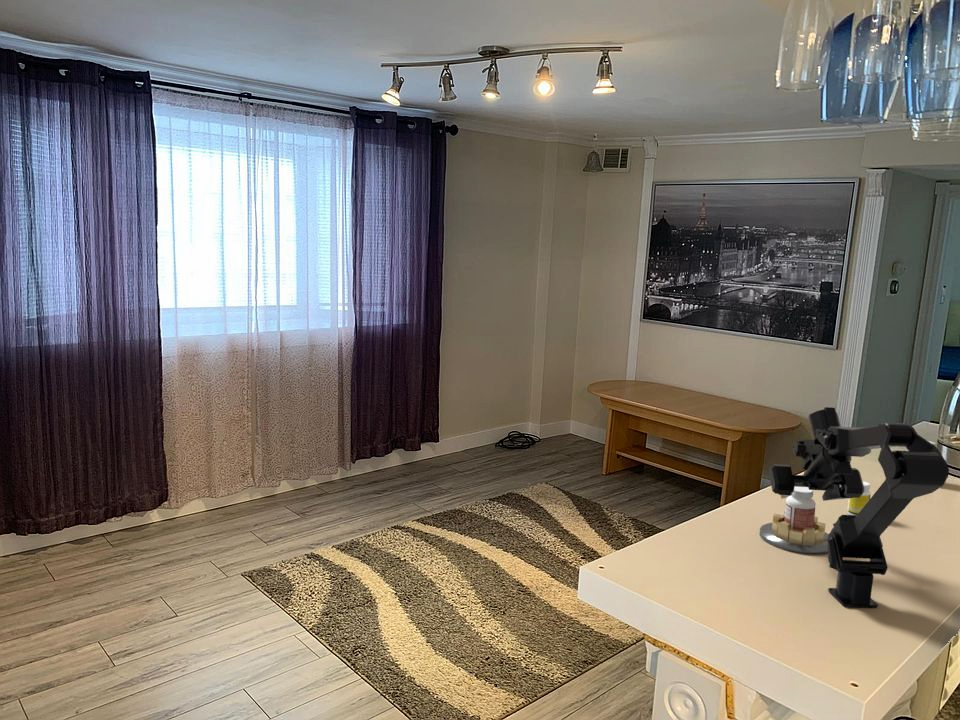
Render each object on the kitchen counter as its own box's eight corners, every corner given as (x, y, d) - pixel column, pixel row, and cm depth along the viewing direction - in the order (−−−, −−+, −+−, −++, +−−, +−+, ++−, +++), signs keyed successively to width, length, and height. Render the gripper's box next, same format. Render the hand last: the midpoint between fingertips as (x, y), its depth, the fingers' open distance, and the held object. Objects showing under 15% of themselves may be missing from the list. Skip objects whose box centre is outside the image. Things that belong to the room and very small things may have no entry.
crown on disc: (849, 555, 157) (852, 534, 157) (776, 553, 157) (779, 532, 156) (815, 527, 173) (817, 507, 172) (748, 525, 173) (750, 506, 172)
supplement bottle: (870, 519, 180) (874, 486, 178) (850, 517, 180) (853, 484, 179) (864, 512, 184) (868, 480, 183) (844, 510, 185) (848, 478, 184)
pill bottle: (817, 536, 164) (822, 490, 163) (804, 543, 160) (809, 495, 159) (791, 528, 169) (795, 482, 167) (777, 534, 165) (782, 487, 163)
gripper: (864, 433, 155) (836, 467, 167) (775, 429, 156) (754, 463, 168) (878, 480, 148) (848, 512, 161) (785, 475, 149) (762, 508, 162)
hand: (802, 497), depth 163 cm, fingers open, 9 cm apart
